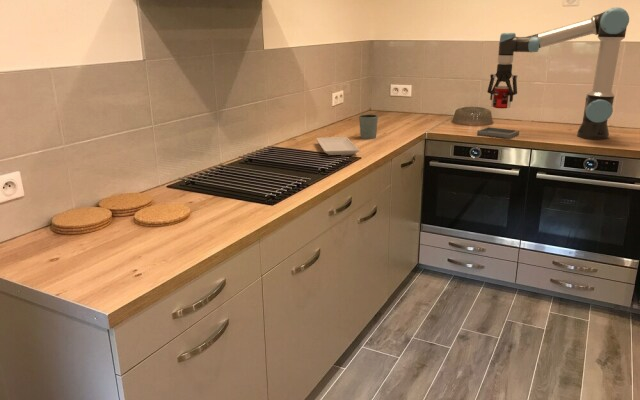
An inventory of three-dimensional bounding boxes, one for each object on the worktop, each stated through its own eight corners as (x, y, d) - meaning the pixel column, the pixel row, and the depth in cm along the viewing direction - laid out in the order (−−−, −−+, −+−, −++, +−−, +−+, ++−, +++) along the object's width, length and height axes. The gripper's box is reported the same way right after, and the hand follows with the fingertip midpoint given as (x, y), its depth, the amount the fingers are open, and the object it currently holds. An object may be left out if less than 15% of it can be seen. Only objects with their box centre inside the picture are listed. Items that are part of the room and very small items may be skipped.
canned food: (494, 106, 288) (496, 85, 285) (509, 106, 285) (511, 86, 281) (491, 108, 282) (493, 87, 278) (507, 108, 278) (509, 87, 275)
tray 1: (347, 142, 276) (347, 136, 275) (359, 156, 246) (360, 149, 245) (315, 144, 274) (315, 137, 273) (324, 158, 244) (324, 151, 243)
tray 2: (518, 135, 288) (519, 130, 287) (509, 139, 277) (510, 134, 277) (487, 131, 298) (487, 126, 298) (477, 135, 288) (477, 130, 287)
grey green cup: (378, 136, 289) (379, 114, 285) (375, 140, 280) (376, 117, 276) (360, 135, 292) (361, 113, 288) (357, 139, 282) (357, 116, 279)
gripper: (527, 63, 272) (522, 107, 280) (488, 62, 285) (484, 104, 292) (522, 64, 267) (517, 109, 274) (483, 63, 279) (479, 106, 287)
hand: (500, 107), depth 283 cm, fingers closed on canned food, 8 cm apart
